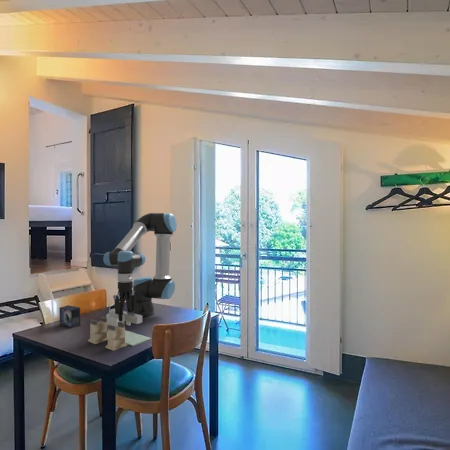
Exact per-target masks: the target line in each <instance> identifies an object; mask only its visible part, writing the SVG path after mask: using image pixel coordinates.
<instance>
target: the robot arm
mask: <svg viewBox="0 0 450 450" xmlns="http://www.w3.org/2000/svg"><path fill="white" fill-rule="evenodd" d="M176 229H177V220H176V217H175V215H174V214H173V213H167V212H163V213H162V212H161V213H160V212H158V213H157V212H150V213H146V214H143V216H140V217H139V218H138V219H137V220H136V221H134V223H133V225H132V228H131V229H130V230H129V232H127V234H125V236H124V238H122V240H121V241H120V242H119V244H117V245H116V247H115V248H114V249H113V250H112V251H106V252H105V253H104V255H103V257H102V258H103V259H102V260H103V263H104V265H106V266H110V267H117V281H118V282H117V291H118V292H117V294H115V295H113V296H112V297H113V300H114V304H115V314H118V315H119V321H120V322H123V323H125V326H131V324H132V323H131V322H127V321H124V315H123V311H125V310H124V309H125V303H126V309H127V310H126V312H130V313H134V314H138V315H142V318H143V317H149V316H152V315H154V314H155V308H154V305H153V301H152V300H153V299H158V300H169V299H171V298H172V297H173V295H174V294H175V293H174V292H175V289H176V288H175V287H176V284H175V281H174V280H172V279H173V278H172V276H171V275H170V264H171V262H170V261H171V260H170V259H171V258H170V257H171V237H172V236H173V235H174V233H175V232H176ZM148 232H153V234H154V237H155V236H156V244H155V245H156V249H155V275H154V276H144V277H137V278H135V279H133V278H134V277H133V274H134V272H133V270H134V268H139V267H141V266H143V265H144V264H145V262H146V256H145V254H143V252H133V251H132V249H133V248H134V246H136V244H137V243H138V242H139V241H140V239H141V237H142V236H145V235H146V234H147V233H148Z"/></svg>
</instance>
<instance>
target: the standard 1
mask: <svg viewBox="0 0 450 450" xmlns="http://www.w3.org/2000/svg"><path fill="white" fill-rule="evenodd" d="M89 323H90V324H89V327H90V328H89V339H88V340H87V342H89V343H91V344H94V345H96V344H100V343H103V342H106V341H108V337H107V332H108V327H107V318H106V316H105V317H104V316H100V317H99V321H98V320H95V319H92V318H91V319H90V320H89Z"/></svg>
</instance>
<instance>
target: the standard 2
mask: <svg viewBox="0 0 450 450" xmlns="http://www.w3.org/2000/svg"><path fill="white" fill-rule="evenodd" d="M125 330H126V322H124V323H123V322H118V326H117V327H115V326H113V325H108V327H107V332H108V340H107V344H106V345H105V349H108V350H111V351H113V352H114V351H117V350H119V349H122V348H124V347H127V346H128V345H127V343H125Z"/></svg>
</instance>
